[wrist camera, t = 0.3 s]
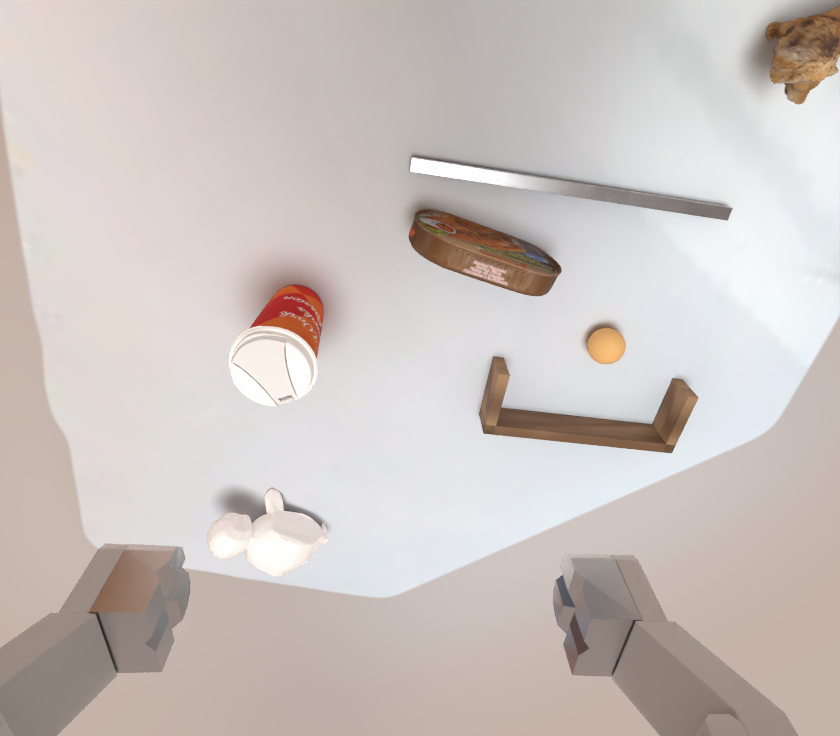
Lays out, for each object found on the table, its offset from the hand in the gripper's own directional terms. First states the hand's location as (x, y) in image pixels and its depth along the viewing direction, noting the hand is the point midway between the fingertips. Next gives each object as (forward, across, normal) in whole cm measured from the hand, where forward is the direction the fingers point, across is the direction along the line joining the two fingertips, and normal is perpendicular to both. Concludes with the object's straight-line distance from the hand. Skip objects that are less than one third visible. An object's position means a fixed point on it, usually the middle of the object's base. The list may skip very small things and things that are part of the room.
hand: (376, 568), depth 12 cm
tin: (+46, -9, +6) cm, 47 cm away
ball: (+44, -24, +16) cm, 53 cm away
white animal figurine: (+46, +14, +45) cm, 66 cm away
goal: (+46, -23, +24) cm, 57 cm away
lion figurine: (+46, -36, -14) cm, 60 cm away
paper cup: (+46, +10, +14) cm, 49 cm away
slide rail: (+46, -17, 0) cm, 49 cm away
